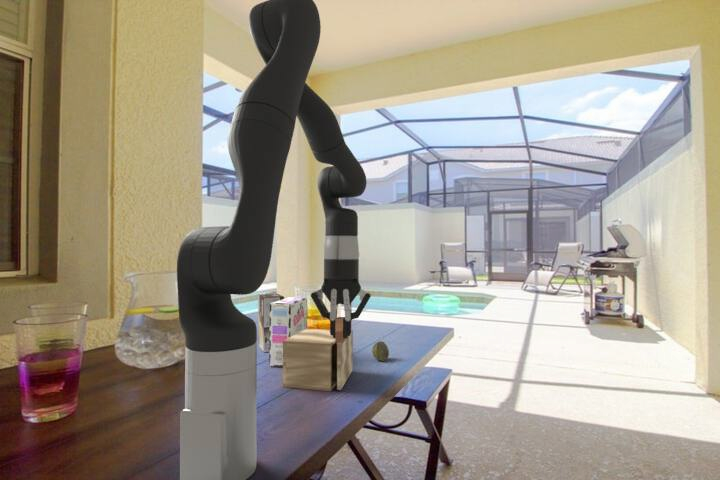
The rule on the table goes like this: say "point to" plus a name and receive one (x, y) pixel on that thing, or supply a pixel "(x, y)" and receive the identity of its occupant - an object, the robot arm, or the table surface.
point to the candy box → (285, 325)
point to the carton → (310, 360)
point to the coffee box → (265, 318)
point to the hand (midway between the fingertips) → (340, 337)
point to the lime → (380, 351)
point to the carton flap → (343, 353)
